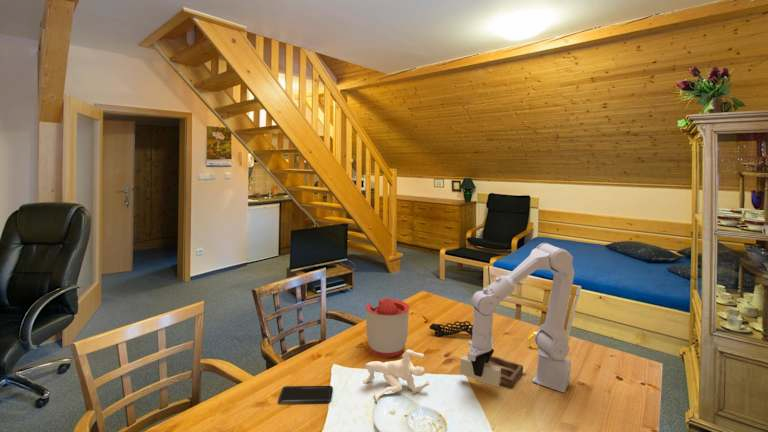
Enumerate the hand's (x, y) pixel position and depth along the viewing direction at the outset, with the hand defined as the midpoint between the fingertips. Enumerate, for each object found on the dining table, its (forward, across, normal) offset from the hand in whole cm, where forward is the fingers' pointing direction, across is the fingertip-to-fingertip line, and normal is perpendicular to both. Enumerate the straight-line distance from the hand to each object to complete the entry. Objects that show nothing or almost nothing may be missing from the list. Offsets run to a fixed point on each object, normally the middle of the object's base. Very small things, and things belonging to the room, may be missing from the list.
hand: (480, 373), depth 121 cm
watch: (+5, -38, +6) cm, 39 cm away
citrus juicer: (+5, -1, -37) cm, 37 cm away
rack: (+5, -11, 0) cm, 12 cm away
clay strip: (+2, 0, 0) cm, 2 cm away
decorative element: (+5, -29, -22) cm, 36 cm away
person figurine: (+5, +16, -20) cm, 27 cm away
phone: (+5, +36, -38) cm, 53 cm away
